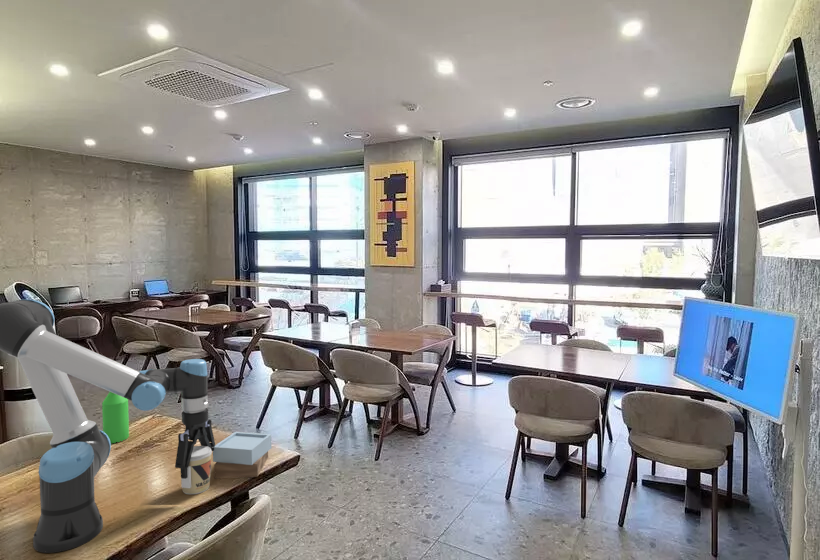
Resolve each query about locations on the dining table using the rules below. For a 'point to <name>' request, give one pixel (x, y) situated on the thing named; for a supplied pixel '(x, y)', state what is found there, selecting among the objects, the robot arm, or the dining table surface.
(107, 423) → the bottle
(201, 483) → the coffee cup
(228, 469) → the block bottom
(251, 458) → the block top
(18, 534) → the dining table surface
